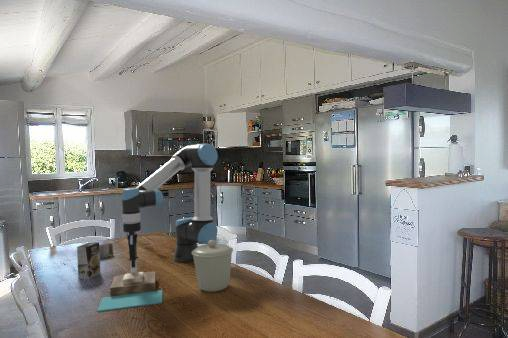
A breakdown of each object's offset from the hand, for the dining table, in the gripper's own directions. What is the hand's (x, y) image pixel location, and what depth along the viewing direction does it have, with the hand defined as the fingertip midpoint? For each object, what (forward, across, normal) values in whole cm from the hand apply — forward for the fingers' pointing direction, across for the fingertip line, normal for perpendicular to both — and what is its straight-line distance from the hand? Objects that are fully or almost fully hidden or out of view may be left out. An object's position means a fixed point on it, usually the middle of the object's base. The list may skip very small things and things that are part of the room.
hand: (134, 273), depth 161 cm
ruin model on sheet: (+6, -56, -22) cm, 61 cm away
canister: (+6, +15, +34) cm, 38 cm away
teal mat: (+5, +18, 0) cm, 19 cm away
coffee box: (+6, -21, -23) cm, 32 cm away
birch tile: (+1, +5, 0) cm, 5 cm away
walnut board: (+5, +3, 0) cm, 6 cm away
